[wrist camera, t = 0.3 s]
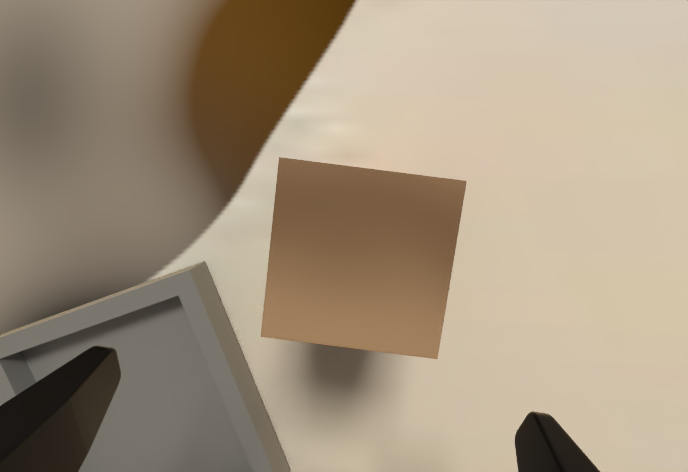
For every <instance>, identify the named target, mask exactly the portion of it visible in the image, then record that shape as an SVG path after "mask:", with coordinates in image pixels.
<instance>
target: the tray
mask: <svg viewBox="0 0 688 472" xmlns="http://www.w3.org/2000/svg"><path fill="white" fill-rule="evenodd" d="M96 345H100V346H107V347H113V348H114V349H115V350H116V351H117V355H118V360H119V365H120V370H121V379H120V382H119V385H118V387H117V389H116V392H115V394H114V396H113V399H112V401H111V403H110V405H109V408H108V410H107V412H106V414H105V417H104V419H103V421H102V424H101V426H100V428H99V430H98V433H97V435H96V437H95V439H94V442H93V444H92V446H91V448H90V450H89V452H88V454H87V456H86V458H85V460H84V462H83V464H82V466H81V467H80V469H79V471H78V472H290V468H289V465H288V463H287V460H286V458H285V455H284V453H283V451H282V448H281V446H280V443H279V441H278V438H277V436H276V433H275V431H274V429H273V426H272V424H271V421H270V419H269V416H268V414H267V412H266V409H265V407H264V404H263V402H262V399H261V397H260V394H259V392H258V390H257V387H256V385H255V382H254V380H253V377H252V375H251V373H250V370H249V368H248V365H247V363H246V360H245V358H244V356H243V353H242V351H241V348H240V346H239V343H238V341H237V338H236V336H235V334H234V331H233V329H232V326H231V324H230V321H229V319H228V317H227V314H226V312H225V309H224V307H223V304H222V302H221V299H220V297H219V295H218V292H217V290H216V287H215V285H214V282H213V280H212V278H211V275H210V273H209V270H208V268H207V265H206V263H205V261H204V262H201V263H198V264H196V265H193V266H190V267H187V268H185V269H182V270H179V271H176V272H173V273H171V274H168V275H165V276H162V277H159V278H157V279H154V280H151V281H148V282H146V283H143V284H140V285H137V286H134V287H132V288H129V289H126V290H123V291H120V292H118V293H115V294H112V295H109V296H107V297H104V298H101V299H98V300H95V301H93V302H90V303H87V304H84V305H81V306H79V307H76V308H73V309H71V310H68V311H65V312H62V313H59V314H56V315H54V316H51V317H48V318H45V319H42V320H40V321H37V322H34V323H32V324H29V325H26V326H23V327H20V328H17V329H15V330H12V331H9V332H7V333H4V334H2V335H0V405H2V404H4V403H5V402H7V401H8V400H10V399H11V398H13V397H15V396H16V395H18V394H19V393H21V392H22V391H24V390H25V389H27V388H29V387H30V386H32V385H33V384H35V383H36V382H38V381H39V380H41V379H42V378H44V377H46V376H47V375H49V374H50V373H52V372H53V371H55V370H56V369H58V368H60V367H61V366H63V365H64V364H66V363H67V362H69V361H70V360H72V359H73V358H75V357H77V356H78V355H80V354H81V353H83V352H84V351H86V350H87V349H89V348H91V347H93V346H96Z"/></svg>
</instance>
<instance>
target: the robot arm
mask: <svg viewBox="0 0 688 472" xmlns="http://www.w3.org/2000/svg"><path fill="white" fill-rule="evenodd" d="M120 379H121V370H120V365H119V360H118V355H117V351H116V350H115V349H114V348H113V347H107V346H100V345H96V346H93V347H91V348H89V349H87V350H86V351H84V352H83V353H81V354H80V355H78V356H77V357H75V358H73V359H72V360H70V361H69V362H67V363H66V364H64V365H63V366H61V367H60V368H58V369H56V370H55V371H53V372H52V373H50V374H49V375H47V376H46V377H44V378H42V379H41V380H39V381H38V382H36V383H35V384H33V385H32V386H30V387H29V388H27V389H25V390H24V391H22V392H21V393H19V394H18V395H16V396H15V397H13V398H11V399H10V400H8V401H7V402H5V403H4V404H2V405H1V406H0V472H78V471H79V469H80V467H81V466H82V464H83V462H84V460H85V458H86V456H87V454H88V452H89V450H90V448H91V446H92V444H93V442H94V439H95V437H96V435H97V433H98V430H99V428H100V426H101V424H102V421H103V419H104V417H105V414H106V412H107V410H108V408H109V405H110V403H111V401H112V399H113V396H114V394H115V392H116V389H117V387H118V385H119V382H120ZM515 448H516V456H517V464H518V472H600V471H599V470H598V469H597V468H596V466H595V465H594V464H593V463H592V462H591V461H590V459H589V458H588V457H587V456H586V455H585V454H584V453H583V451H582V450H581V449H580V448H579V447H578V446H577V444H576V443H575V442H574V441H573V440H572V439H571V438H570V436H569V435H568V434H567V433H566V432H565V431H564V429H563V428H562V427H561V426H560V425H559V424H558V423H557V421H556V420H555V419H554V418H553V417H552V416H550V415H549V414H545V413H539V412H530V413H529V414H528V415H527V416H526V418H525V419H524V421H523V423H522V424H521V426H520V427H519V429H518V430H517V432H516V435H515Z"/></svg>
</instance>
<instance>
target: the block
mask: <svg viewBox="0 0 688 472" xmlns="http://www.w3.org/2000/svg"><path fill="white" fill-rule="evenodd" d="M465 187H466V181H461V180H454V179H446V178H438V177H430V176H422V175H414V174H406V173H398V172H390V171H382V170H375V169H367V168H359V167H351V166H343V165H335V164H327V163H319V162H311V161H304V160H296V159H288V158H280V157H279V164H278V174H277V184H276V194H275V203H274V213H273V223H272V233H271V242H270V252H269V262H268V272H267V282H266V291H265V301H264V311H263V321H262V330H261V337H268V338H276V339H284V340H291V341H299V342H307V343H315V344H323V345H331V346H338V347H346V348H354V349H362V350H370V351H378V352H386V353H393V354H401V355H409V356H417V357H425V358H433V359H437V357H438V351H439V345H440V339H441V333H442V327H443V321H444V315H445V309H446V303H447V297H448V290H449V284H450V278H451V272H452V266H453V260H454V254H455V248H456V242H457V236H458V230H459V224H460V218H461V211H462V205H463V199H464V193H465Z"/></svg>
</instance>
